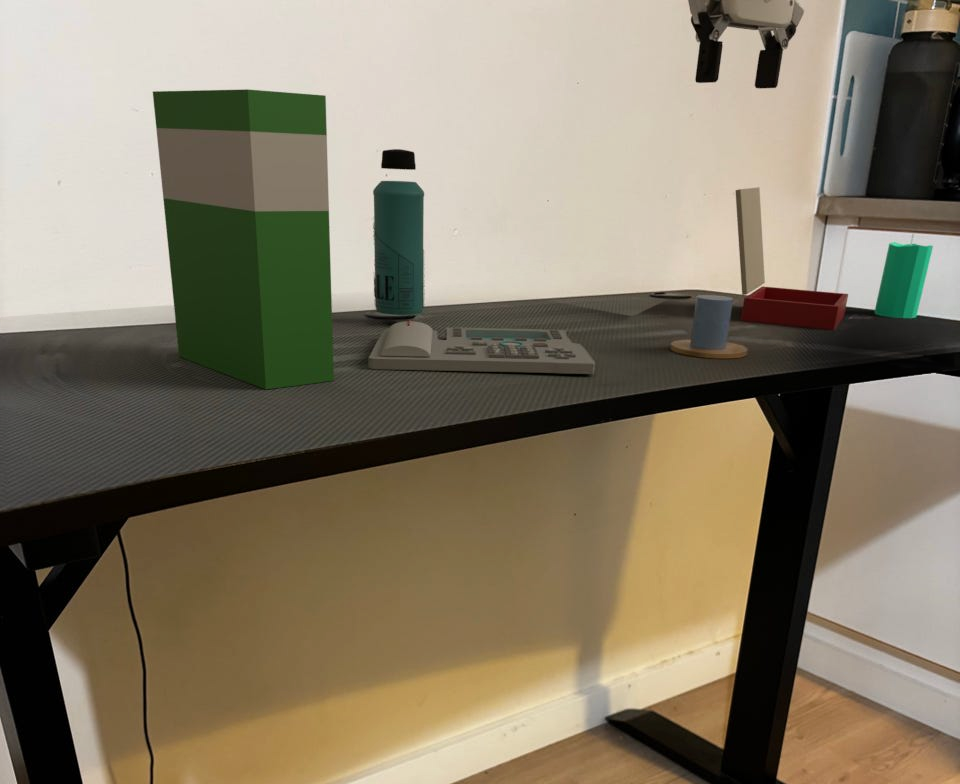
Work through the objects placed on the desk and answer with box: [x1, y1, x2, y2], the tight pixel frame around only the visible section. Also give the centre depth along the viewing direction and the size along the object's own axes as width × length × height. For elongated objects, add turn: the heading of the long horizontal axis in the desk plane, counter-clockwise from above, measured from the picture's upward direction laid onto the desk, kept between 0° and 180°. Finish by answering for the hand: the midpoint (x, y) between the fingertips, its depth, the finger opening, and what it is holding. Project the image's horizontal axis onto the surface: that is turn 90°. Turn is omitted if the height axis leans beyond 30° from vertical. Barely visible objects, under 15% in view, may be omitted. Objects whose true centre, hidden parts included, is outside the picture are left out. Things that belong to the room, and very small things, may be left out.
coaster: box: [670, 338, 749, 360], centre depth 115 cm, size 9×9×1 cm
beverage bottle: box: [372, 148, 426, 316], centre depth 119 cm, size 6×7×20 cm
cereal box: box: [152, 88, 335, 390], centre depth 91 cm, size 18×7×24 cm, turn 41°
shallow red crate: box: [740, 285, 849, 331], centre depth 137 cm, size 12×15×4 cm
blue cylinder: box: [690, 294, 734, 349], centre depth 113 cm, size 4×4×6 cm
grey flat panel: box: [735, 186, 766, 296], centre depth 135 cm, size 13×15×1 cm
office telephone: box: [367, 319, 596, 375], centre depth 107 cm, size 23×3×20 cm
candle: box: [874, 232, 934, 319], centre depth 142 cm, size 6×6×12 cm
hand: (736, 85), depth 114 cm, fingers open, 9 cm apart
